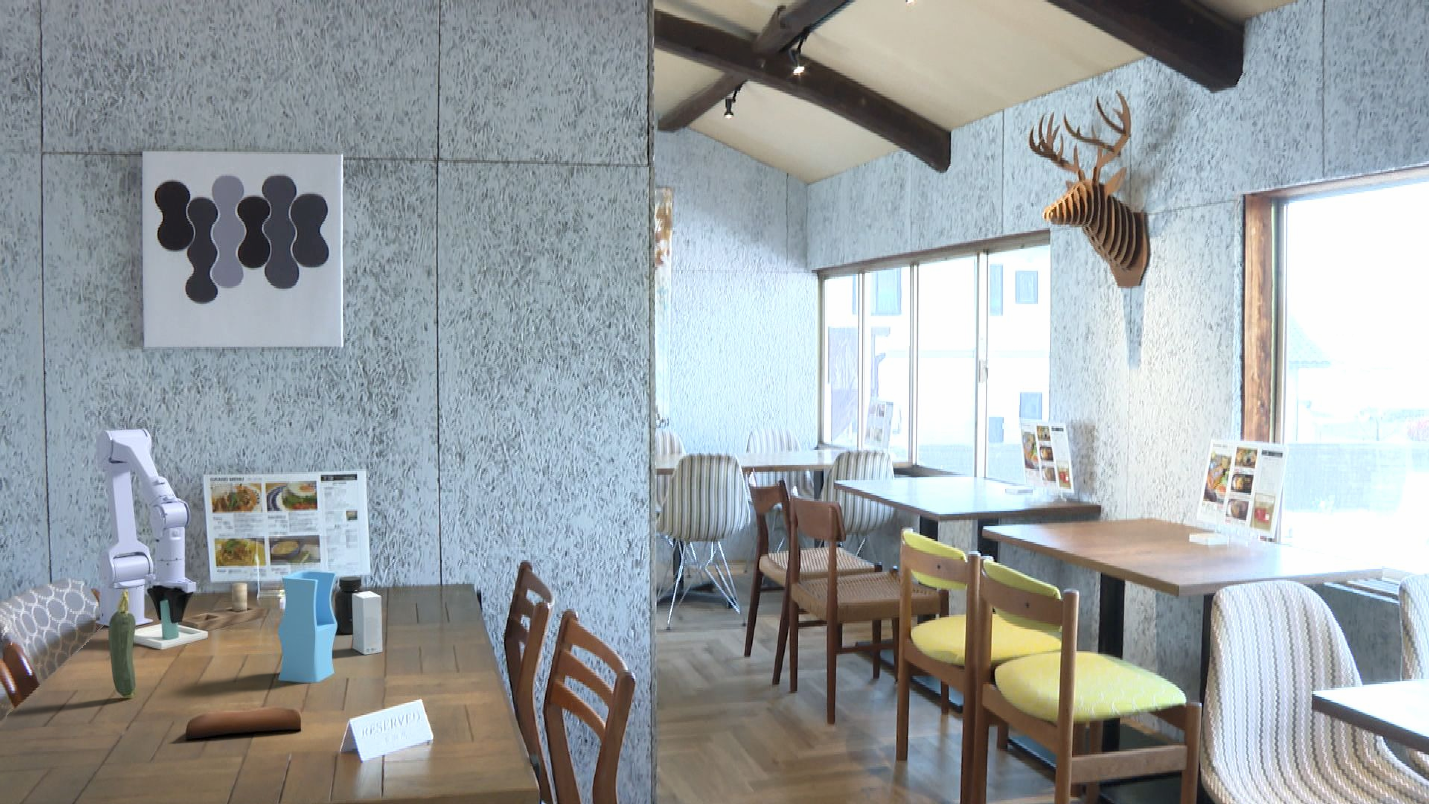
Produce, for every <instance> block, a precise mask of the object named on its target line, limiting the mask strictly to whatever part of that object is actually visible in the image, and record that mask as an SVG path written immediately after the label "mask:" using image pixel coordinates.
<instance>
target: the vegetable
mask: <svg viewBox="0 0 1429 804" xmlns="http://www.w3.org/2000/svg"><path fill="white" fill-rule="evenodd" d="M128 608H129V595H128V590H126V589H124V592H123V593H122V595H121V599H120V601H119V604H118V607H117V609H118V611H117V612H116V613H115V614H114V615H113V616H112V617H111V619H110V622H109V626H108V633H107V634H108V646H109V655H110V664H111V666H110V667H111V674H112V680H113V681H112V682H113V686H114V688H115V691H116V692H117V694H120V695H121V696H122V698H123V699H125V700H126V699H129V698H130V699H132V698H133V695H135V694H136V689H135V688H136V673H135V672H136V671H135V665H134V659H133V657H134V656H133V648H134V643H133V640H134V634H135V630H136V621H135V618H134V616H133V615H132V614H131V613H130V612H129V611H127V610H128Z"/></svg>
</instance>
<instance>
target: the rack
mask: <svg viewBox="0 0 1429 804" xmlns="http://www.w3.org/2000/svg"><path fill="white" fill-rule="evenodd" d="M266 616H267V608H266V607H262V606H257V605H254V604H248V603H247V611H244V612H239V613H236V612H232V606H231V607H227V608H223V609H222V608H221V609H218V610H213V611H209V612H204V613H200V614H195V615H191V616H186V617H183V619H182V622H178V625H181V626H185V627H189V628H194V629H198V630H202V631H207V632H208V631H211V630H214V629H219V628H223V627H227V626H231V625H237V624H240V623H244V622H249V621H252V620H256V619H260V618H266Z"/></svg>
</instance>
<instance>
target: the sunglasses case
mask: <svg viewBox="0 0 1429 804" xmlns="http://www.w3.org/2000/svg"><path fill="white" fill-rule="evenodd" d="M284 730H299V732H302V719H301V715H300V713H299V712H298V710H296V709H294V708H290V707H285V706H273V705H272V706H264V707H259V708H254V709H251V708H244V709H242V710H232V709H231V710H225V709H223V710H216V711H211V712H210V711H209V712H206V713H203V714H200V715H197V716H194V717H193V718H191V719H190V720H189V721H188V722H187V725H186V729H185V737H184V738H185V741H189V740H193V739H201V738H206V737H208V738H210V737H215V736H222V735H227V734H244V733H245V734H246V733H247V734H248V733H252V732H253V733H254V732H271V731H284Z"/></svg>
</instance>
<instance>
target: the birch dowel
mask: <svg viewBox="0 0 1429 804" xmlns="http://www.w3.org/2000/svg"><path fill="white" fill-rule="evenodd" d="M231 586H232V587H231V607H232V612H236V613H239V612H244V611H247V604H248V583H246V582H236V583H232V584H231Z"/></svg>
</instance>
